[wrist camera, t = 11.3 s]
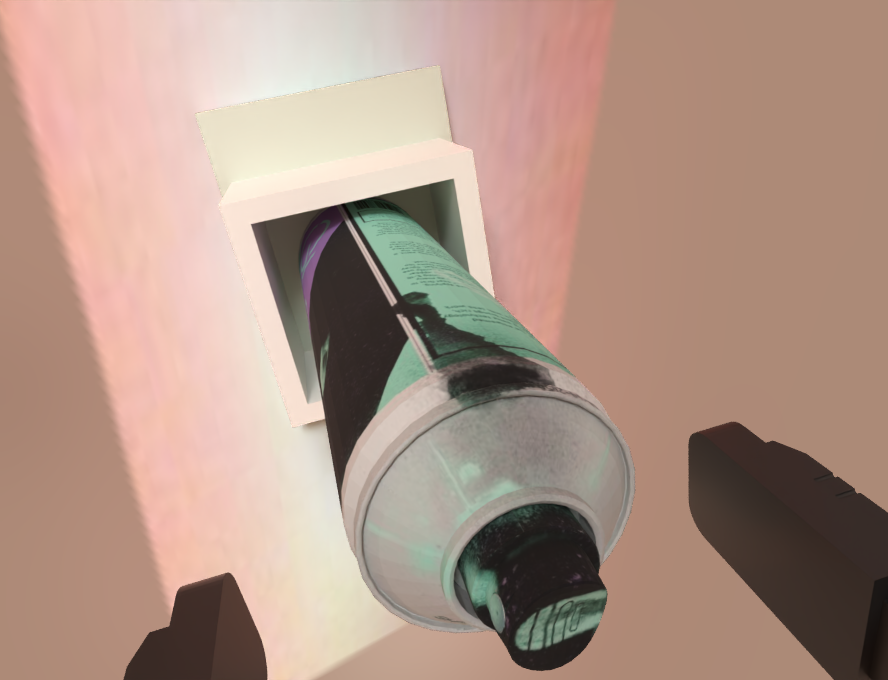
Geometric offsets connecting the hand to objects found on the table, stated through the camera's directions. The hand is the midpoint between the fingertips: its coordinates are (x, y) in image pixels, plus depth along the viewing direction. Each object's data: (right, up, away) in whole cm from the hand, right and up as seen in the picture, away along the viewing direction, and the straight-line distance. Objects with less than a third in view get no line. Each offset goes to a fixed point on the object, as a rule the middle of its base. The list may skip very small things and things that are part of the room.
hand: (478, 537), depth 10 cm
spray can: (-4, +7, +16) cm, 18 cm away
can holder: (-4, +7, +17) cm, 19 cm away
